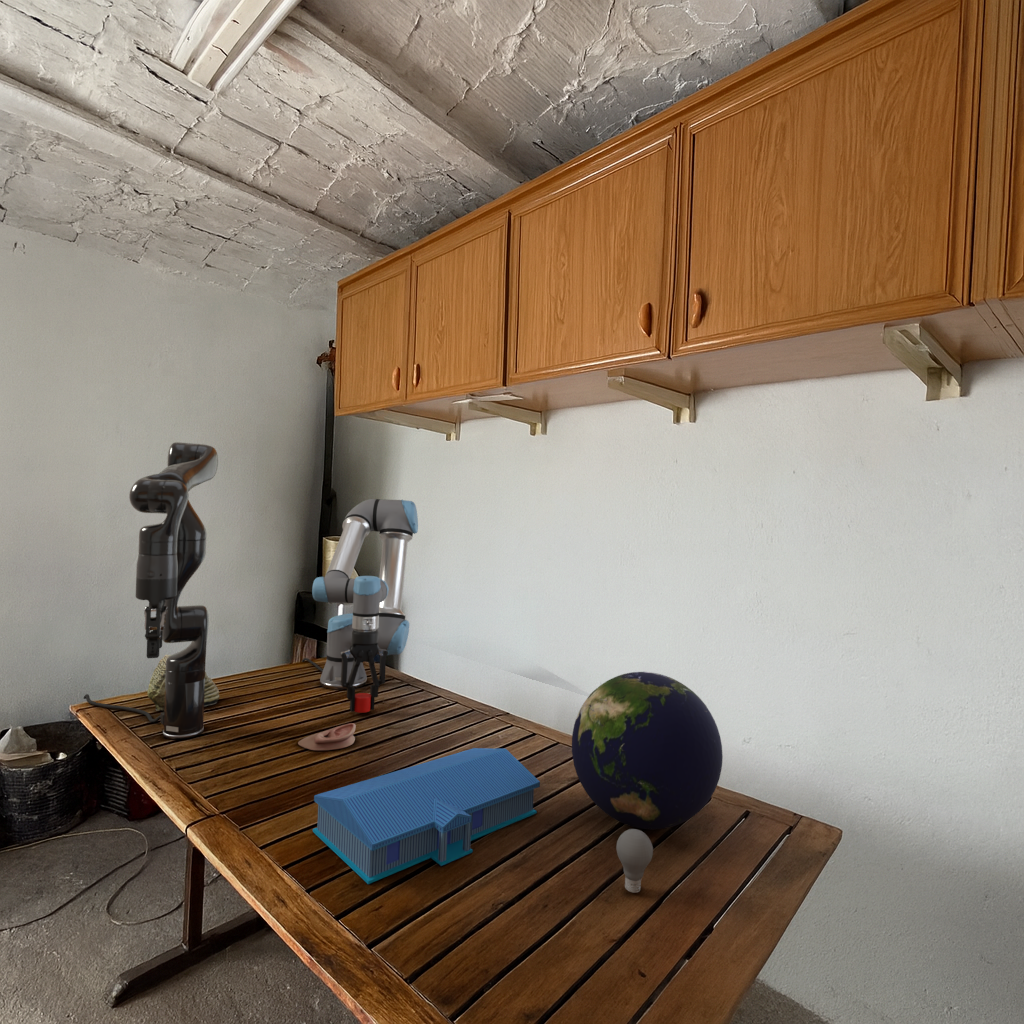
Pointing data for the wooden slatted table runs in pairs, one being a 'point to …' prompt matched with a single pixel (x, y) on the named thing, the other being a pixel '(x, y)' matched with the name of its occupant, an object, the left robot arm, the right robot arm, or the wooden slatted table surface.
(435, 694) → the wooden slatted table surface
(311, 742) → the anatomical model
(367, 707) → the tin
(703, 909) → the wooden slatted table surface
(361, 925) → the wooden slatted table surface
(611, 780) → the globe
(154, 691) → the fossil
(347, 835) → the model building
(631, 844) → the light bulb
